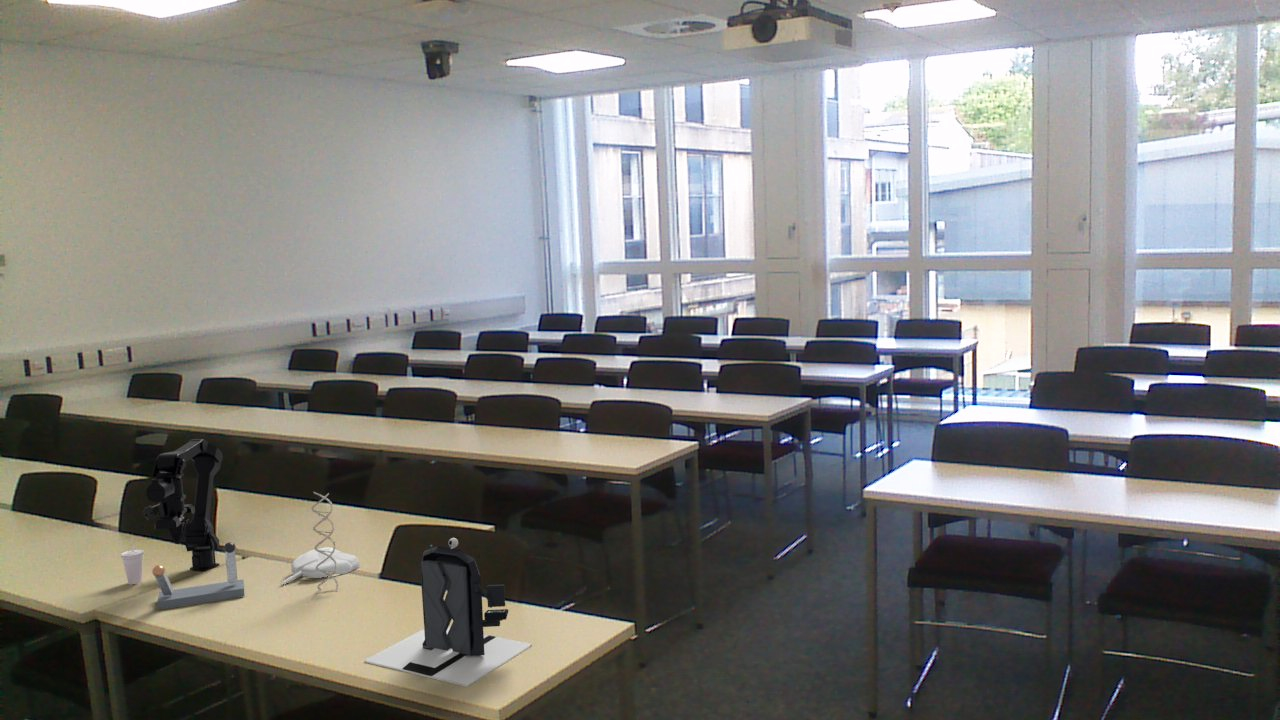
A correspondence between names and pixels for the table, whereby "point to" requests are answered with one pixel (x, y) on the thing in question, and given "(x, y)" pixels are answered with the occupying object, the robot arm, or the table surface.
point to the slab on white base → (453, 624)
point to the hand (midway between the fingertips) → (177, 543)
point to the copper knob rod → (162, 580)
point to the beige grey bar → (231, 562)
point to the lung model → (312, 558)
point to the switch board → (201, 594)
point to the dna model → (325, 539)
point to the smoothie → (133, 564)
